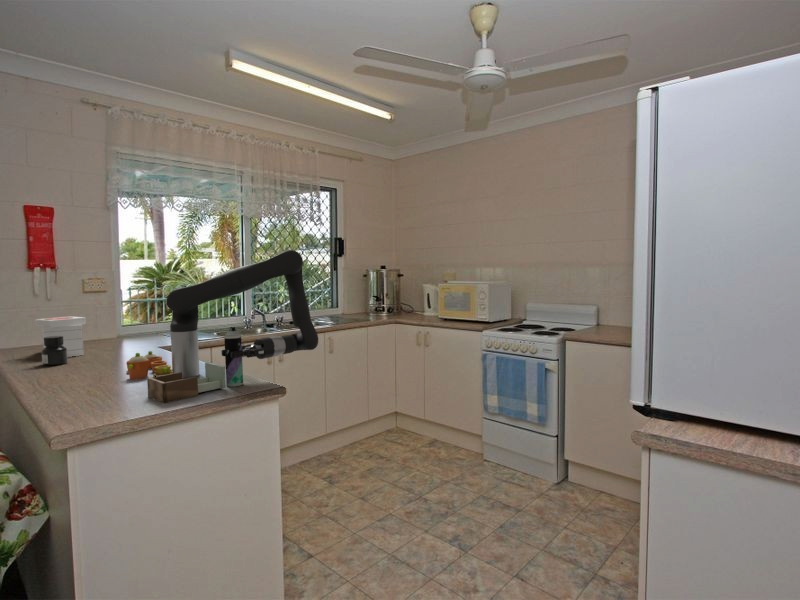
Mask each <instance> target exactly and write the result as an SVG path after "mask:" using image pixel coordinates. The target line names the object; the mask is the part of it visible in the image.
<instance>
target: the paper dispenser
mask: <svg viewBox="0 0 800 600" xmlns="http://www.w3.org/2000/svg"><path fill="white" fill-rule="evenodd" d="M86 320H87V318H86V316H85V317H84V316H73V315H72V316H59V317H48V318H47V317H46V318H36V319H35V320H34V321H35V327H41V334H42V336H41V337H42V350H43V349H44V348H45V347H46V346H44V337H50V336H63V341H64V343H63V345H62V346H64V347H66V348H67V358H73V357H72V356H76V357H80V356H79V355H84V354H85V353H84V339H83V338H84V336H83V325H86V324H87V321H86ZM84 356H85V355H84Z"/></svg>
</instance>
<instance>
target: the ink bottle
mask: <svg viewBox="0 0 800 600" xmlns="http://www.w3.org/2000/svg"><path fill="white" fill-rule="evenodd" d="M63 343H64V341H63V336H50V337H44V346H46V347H45V348H44V349H43V348H42V350H41V364H42V366H44V367H50V366H51V367H53V365H54V366H61V365H66V364H67V363H68V362H69V361H68V357H67V348H66V347H64V346H62V345H63Z"/></svg>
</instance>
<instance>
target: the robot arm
mask: <svg viewBox="0 0 800 600" xmlns="http://www.w3.org/2000/svg"><path fill="white" fill-rule="evenodd" d="M303 265H304V260H303V257H302V255H301V254H300V253H299V252H298V251H297V250H293V249H287V250H284V251H282V252H280V253H278V254H277V255H274V256H272V257H270V258H268V259H265V260H262V261H257V262H255V263H250V264H246V265H243V266H239V267H236V268H233V269H230V270H227V271H224V272H223V273H220V274H218V275H215V276H212V277H211V278H209V279H206V280H205V281H202V282H200V283H196V284H193V285H189V286H183V287H178V288H175V289H172V291H170V292H169V293H168V295H167V297H166V300H165V303H166V306H167V308H168V309H169V310H170V311H171V312H172V313H171V317H172V318H171V323H170V325H169V327H170V330H169V331H170V344H171V345H170V348H171V369H172V372H173V373H179V372H182V379H186V378H192V377H198V376H199V375H200V357H199V355H200V354H199V350H200V349H199V333H198V332H199V330H198V323H199V306H201V305H203V304H205V303H207V302H210V301H215V300H219V299H223V298H224V299H225V298H227V297H231V296H235V295H239V294H240V293H244V292H246V291H248V290H251V289H254V288H256V287H257V286H260V285H261V284H264V283H265V282H267V281H269V280H272V279H276V278H278V277H282V276H284V278H285V282H286V286H287V291H288V299H289V307H290V314H291V319H292V324H293V326H294V327H295V328H298V329H299V331H300V332H297V333H296V332H295V333H292V334H284V335H279V336H275V335H273V336H265V337H258V338H256V339H255V340H254V342H253V344H252V343H247V344H243V343H242V350H239V351H233V352H231V358H238V357H242V358H254V357H255V358H256V359H258V360H264V359H269V358H275V357H278V356H281V355H282V356H283V355H286V354H291V353H293V352H298V351H313V350H316V348H317V347H318V345H319V335H318V332H317V330H316V327H315V325H314V323H313V321H312V319H311V312H310V307H309V304H308V299H307V295H306V291H305V287H304V279H303ZM220 351H221V356H222V357H225V348H224V349H221V350H220Z"/></svg>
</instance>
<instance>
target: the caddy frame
mask: <svg viewBox="0 0 800 600" xmlns="http://www.w3.org/2000/svg"><path fill="white" fill-rule="evenodd" d="M146 378H147V380H146V382H147V383H146V384H147V397H148V398H150V399H152V400H155V401H158V402H160V403H163V404H167V403H172V402H176V401H180V400H185V399H189V398H190V399H191V398H193V397H194V398H195V397H198V396H199V393H198V379H199V377H198V376H195V377H189V378H182V372H179V373H173V374H167V375H162V376H156V377H155V376H151V377H146Z"/></svg>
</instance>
